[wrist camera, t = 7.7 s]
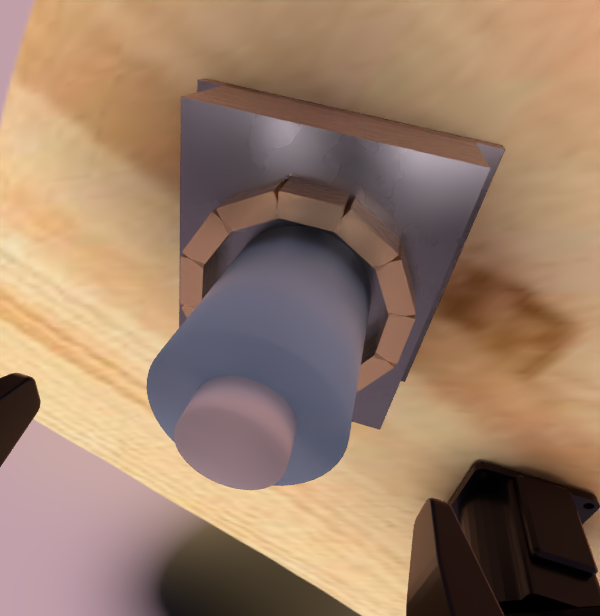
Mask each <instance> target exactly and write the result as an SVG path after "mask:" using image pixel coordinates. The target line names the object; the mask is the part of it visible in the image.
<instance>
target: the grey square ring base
mask: <svg viewBox="0 0 600 616" xmlns="http://www.w3.org/2000/svg"><path fill="white" fill-rule="evenodd" d="M504 151H505V149H504V147H503V146H502V145H497V144H493V143H489V142H484V141H480V140H475V139H471V138H466V137H462V136H458V135H453V134H449V133H444V132H440V131H435V130H431V129H426V128H422V127H418V126H413V125H409V124H404V123H400V122H395V121H391V120H387V119H382V118H378V117H373V116H369V115H364V114H360V113H355V112H351V111H347V110H342V109H338V108H333V107H329V106H324V105H320V104H316V103H311V102H307V101H302V100H298V99H293V98H289V97H284V96H280V95H276V94H271V93H267V92H262V91H258V90H253V89H249V88H245V87H240V86H236V85H231V84H227V83H222V82H218V81H213V80H209V79H199V80H198V91H197V93H194V94H190V95H186V96H182V97H181V174H180V312H179V328H180V327H181V325H182V324H183V323H184V322H185V320H186V319H187V318H188V317H189V315H190V314H191V313H192V312H193V310H194V309H195V308H196V307H197V305H198V304H199V303H200V302H201V300H202V299H203V298H204V297H205V295H206V294H207V293H208V292H209V291H210V289H211V288H212V287H213V286H214V284H215V283H216V282H217V281H218V279H219V278H220V277H221V276H222V274H223V273H224V272H225V271H226V269H227V268H228V267H229V266H230V264H231V263H232V262H233V261H234V260H235V258H236V257H237V256H238V255H239V253H240V252H241V251H242V250H243V248H244V247H245V246H246V245H247V244H248V243H249V242H250V241H251V240H252V239H254V238H255V237H256V236H258V235H260V234H261V233H263V232H265V231H268V230H271V229H273V228H278V227H282V226H304V227H310V228H314V229H317V230H320V231H323V232H325V233H328V234H330V235H332V236H334V237H335V238H337V239H338V240H340V241H341V242H343V243H344V244H345V245H346V246H348V247H349V248H350V249H351V250H352V251H353V252H354V253H355V255H356V256H357V257H358V259H359V260H360V261H361V263H362V265H363V267H364V268H365V270H366V273H367V275H368V278H369V282H370V286H371V304H370V310H369V316H368V323H367V329H366V335H365V341H364V347H363V354H362V360H361V366H360V372H359V379H358V385H357V391H356V397H355V404H354V410H353V416H352V422H356V423H359V424H363V425H366V426H369V427H373V428H376V429H380V428H381V426H382V423H383V421H384V419H385V416H386V414H387V412H388V409H389V407H390V404H391V402H392V400H393V397H394V395H395V393H396V390H397V388H398V386H399V383H400V381H404V382H405V380H406V378H407V375H408V373H409V371H410V368H411V366H412V364H413V361H414V359H415V357H416V355H417V352H418V350H419V348H420V345H421V343H422V341H423V338H424V336H425V334H426V331H427V329H428V327H429V324H430V322H431V320H432V317H433V315H434V313H435V311H436V308H437V306H438V304H439V301H440V299H441V297H442V294H443V292H444V290H445V287H446V285H447V283H448V280H449V278H450V276H451V273H452V271H453V269H454V267H455V264H456V262H457V260H458V257H459V255H460V253H461V250H462V248H463V246H464V243H465V241H466V239H467V236H468V234H469V232H470V229H471V227H472V225H473V223H474V220H475V218H476V216H477V213H478V211H479V209H480V206H481V204H482V202H483V199H484V197H485V195H486V192H487V190H488V188H489V185H490V183H491V181H492V179H493V176H494V174H495V172H496V169H497V167H498V165H499V162H500V160H501V158H502V155H503V153H504Z"/></svg>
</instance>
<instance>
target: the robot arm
mask: <svg viewBox="0 0 600 616" xmlns="http://www.w3.org/2000/svg"><path fill="white" fill-rule="evenodd" d="M39 408H40V397H39V393H38V390H37V386H36V382H35V380H34V379H33V378H32V377H30V376H27V375H23V374H20V373H13V374H9V375H7V376H4V377H2V378H0V467H1V465H2V464H3V462H4V461H5V459H6V458H7V456H8V455H9V454H10V452H11V451H12V449H13V448H14V446H15V444H16V443H17V442H18V440H19V439H20V437H21V436H22V434H23V433H24V431H25V430H26V428H27V427H28V425H29V424H30V422H31V421H32V420H33V418H34V417H35V415H36V414H37V412H38V410H39ZM599 507H600V505H599V502H598V500H597V497H596V496H595V495H592V494H590V493H586V492H583V491H580V490H576V489H573V488H569V487H566V486H563V485H559V484H556V483H552V482H549V481H546V480H542V479H539V478H535V477H532V476H529V475H525V474H522V473H518V472H515V471H512V470H508V469H505V468H501V467H498V466H495V465H491V464H488V463H483V462H481V463H476V464H475V465H473V467H472V468H471V470H470V471H469V473H468V474H467V476H466V477H465V479H464V480H463V482H462V483H461V485H460V486H459V488H458V489H457V491H456V492H455V494H454V495H453V497H452V498H451V500H450V501H449V503H447V502H445V501H441V500H438V499H435V498H429V499H428V500H427V501H426V503H425V504H424V506H423V508H422V509H421V511H420V512H419V514H418V516H417V518H416V520H415V524H414V530H413V540H412V551H411V561H410V572H409V582H408V592H407V605H406V616H600V585H599V582H598V579H597V577H596V573H597V572H598V570H597V566H596V563H595V560H594V557H593V555H592V552H591V549H590V546H589V543H588V540H587V537H586V534H585V532H584V529H583V526H582V524H583V523H584V522H585V521H586V520H588V519H589V518H590V517H591V516H592V515H593V514H594V513H595V512H596V511H597V510H598V509H599Z"/></svg>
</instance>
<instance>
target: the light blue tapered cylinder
mask: <svg viewBox="0 0 600 616" xmlns="http://www.w3.org/2000/svg"><path fill="white" fill-rule="evenodd" d="M370 304H371V286H370V282H369V278H368V275H367V273H366V270H365V268H364V267H363V265H362V263H361V261H360V260H359V259H358V257H357V256H356V255H355V253H354V252H353V251H352V250H351V249H350V248H349V247H348V246H346V245H345V244H344V243H343V242H341V241H340V240H338V239H337V238H335V237H334V236H332V235H330V234H328V233H325V232H323V231H320V230H317V229H314V228H310V227H304V226H282V227H278V228H273V229H271V230H268V231H265V232H263V233H261V234H260V235H258V236H256V237H255V238H254V239H252V240H251V241H250V242H249V243H248V244H247V245H246V246H245V247H244V248H243V250H242V251H241V252H240V253H239V255H238V256H237V257H236V258H235V260H234V261H233V262H232V263H231V264H230V266H229V267H228V268H227V269H226V271H225V272H224V273H223V274H222V276H221V277H220V278H219V279H218V281H217V282H216V283H215V284H214V286H213V287H212V288H211V289H210V291H209V292H208V293H207V294H206V295H205V297H204V298H203V299H202V300H201V302H200V303H199V304H198V305H197V307H196V308H195V309H194V310H193V312H192V313H191V314H190V315H189V317H188V318H187V319H186V320H185V322H184V323H183V324H182V325H181V327H180V328H179V329H178V330H177V331H176V333H175V334H174V335H173V336H172V338H171V339H170V340H169V341H168V343H167V344H166V345H165V346H164V348H163V349H162V350H161V351H160V353H159V354H158V355H157V357H156V358H155V359H154V361H153V363H152V365H151V367H150V369H149V373H148V378H147V394H148V399H149V403H150V406H151V409H152V411H153V413H154V415H155V418H156V419H157V421H158V422H159V424H160V426H161V427H162V428H163V430H164V431H165V432H166V434H167V435H168V436H169V437H170V438H171V439H172V440H173V441H174V442H175V444H176V447H177V449H178V451H179V453H180V454H181V456H182V457H183V458H184V460H185V461H186V462H187V463H188V464H189V465H190V466H191V467H192V468H194V469H195V470H196V471H197V472H199V473H200V474H202V475H203V476H205V477H207V478H208V479H210V480H212V481H214V482H217V483H219V484H222V485H225V486H228V487H232V488H237V489H244V490H257V489H263V488H267V487H270V486H272V485H275V486H283V485H294V484H299V483H304V482H307V481H311V480H314V479H316V478H318V477H320V476H322V475H324V474H325V473H327V472H328V471H330V470H331V469H332V468H333V467H334V466H335V465H336V464H337V463H338V462H339V461H340V459H341V458H342V457H343V454H344V452H345V450H346V448H347V444H348V440H349V435H350V429H351V422H352V416H353V410H354V404H355V397H356V391H357V385H358V379H359V372H360V366H361V360H362V354H363V347H364V341H365V335H366V329H367V323H368V316H369V310H370Z"/></svg>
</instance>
